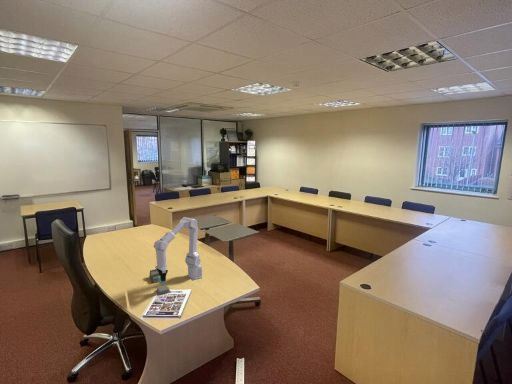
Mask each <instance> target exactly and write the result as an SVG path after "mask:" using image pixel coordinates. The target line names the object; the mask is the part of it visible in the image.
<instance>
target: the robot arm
mask: <svg viewBox="0 0 512 384" xmlns="http://www.w3.org/2000/svg"><path fill="white" fill-rule="evenodd" d="M183 229H187V230H188V231H189V241H188V243H189V244H188V252H187V253H186V254H185V255H186V257H185V258H184V262H185V264H186V265H187V276H188V278H189V279H190V280H191V281H194V280H198V279H203V268H202V267H203V266H202V265H201V257H200V254H199V253H198V235H199V234H198V232H199V228H198V220H197V219H195V218H191V217H186V216H184V217H182V218H181V219H180V220H179V223H177V225H176V226H174V227H173V229H171V231H167V232H165V234H164V235H163V236H162V237H160V239H156V240H155V242H154V243H153V248H154V249H155V256H156V265H155V266H154V269H157V270H158V273H159V275H160V278H161V281H165V279H166V280H167V274H168V271H169V270H168V269H167V267H168V263H167V251H166V250H167V248H168V246H169V244H170V243H171V242H172V241H173V240H174V239H175V238H176V237H175V236H176V235H177V234H178V233H179V232H181V231H182V230H183Z"/></svg>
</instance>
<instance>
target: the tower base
mask: <svg viewBox="0 0 512 384" xmlns="http://www.w3.org/2000/svg"><path fill="white" fill-rule="evenodd" d="M167 287H168V286H167ZM168 289H169V292H167V293H163V294H159V293H158V291H157V289H155V293H156V295H157V296H158V297H159V296H163V295H167V294H171V293H172V292H171V290H170V287H168Z"/></svg>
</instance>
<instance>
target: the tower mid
mask: <svg viewBox="0 0 512 384" xmlns="http://www.w3.org/2000/svg"><path fill="white" fill-rule="evenodd" d="M169 289H170V288H169ZM169 289H168V285H167V284H166V285H161V286H158V287H156V290H157V291H158V293H159V294H163V293H167V292H169ZM167 294H168V293H167Z"/></svg>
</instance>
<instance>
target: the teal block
mask: <svg viewBox="0 0 512 384" xmlns="http://www.w3.org/2000/svg"><path fill="white" fill-rule="evenodd" d="M157 283H158V284H159V285H164V284H167V278H166V279H165V281H161V278H160V275H159V276H158V282H157Z"/></svg>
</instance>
